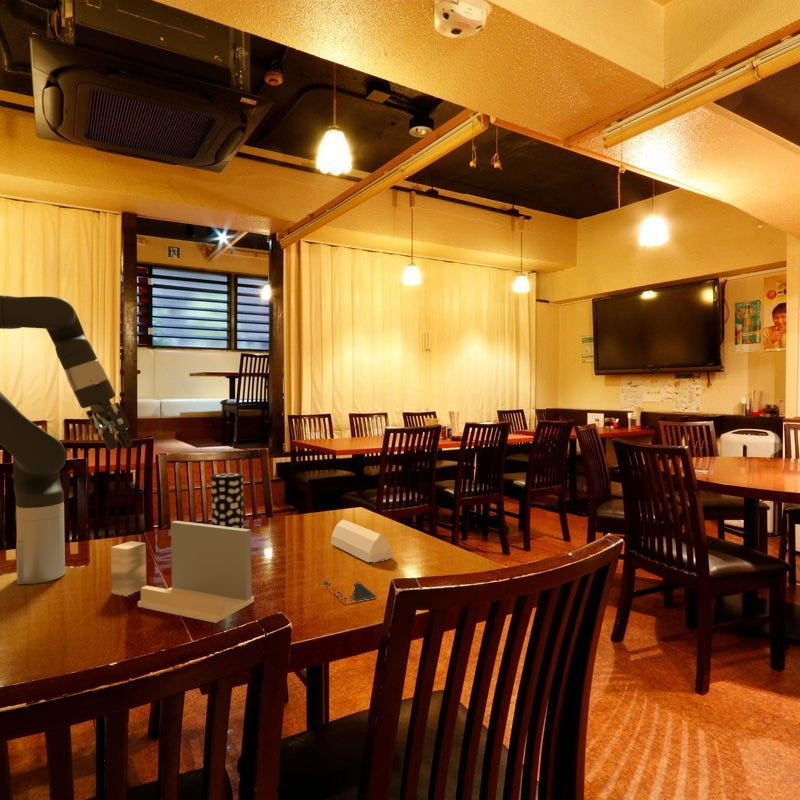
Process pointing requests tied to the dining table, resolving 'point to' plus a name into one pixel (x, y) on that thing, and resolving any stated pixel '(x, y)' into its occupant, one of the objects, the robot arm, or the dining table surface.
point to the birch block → (128, 568)
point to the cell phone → (358, 592)
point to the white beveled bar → (361, 542)
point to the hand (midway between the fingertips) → (121, 447)
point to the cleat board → (205, 573)
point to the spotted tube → (227, 499)
